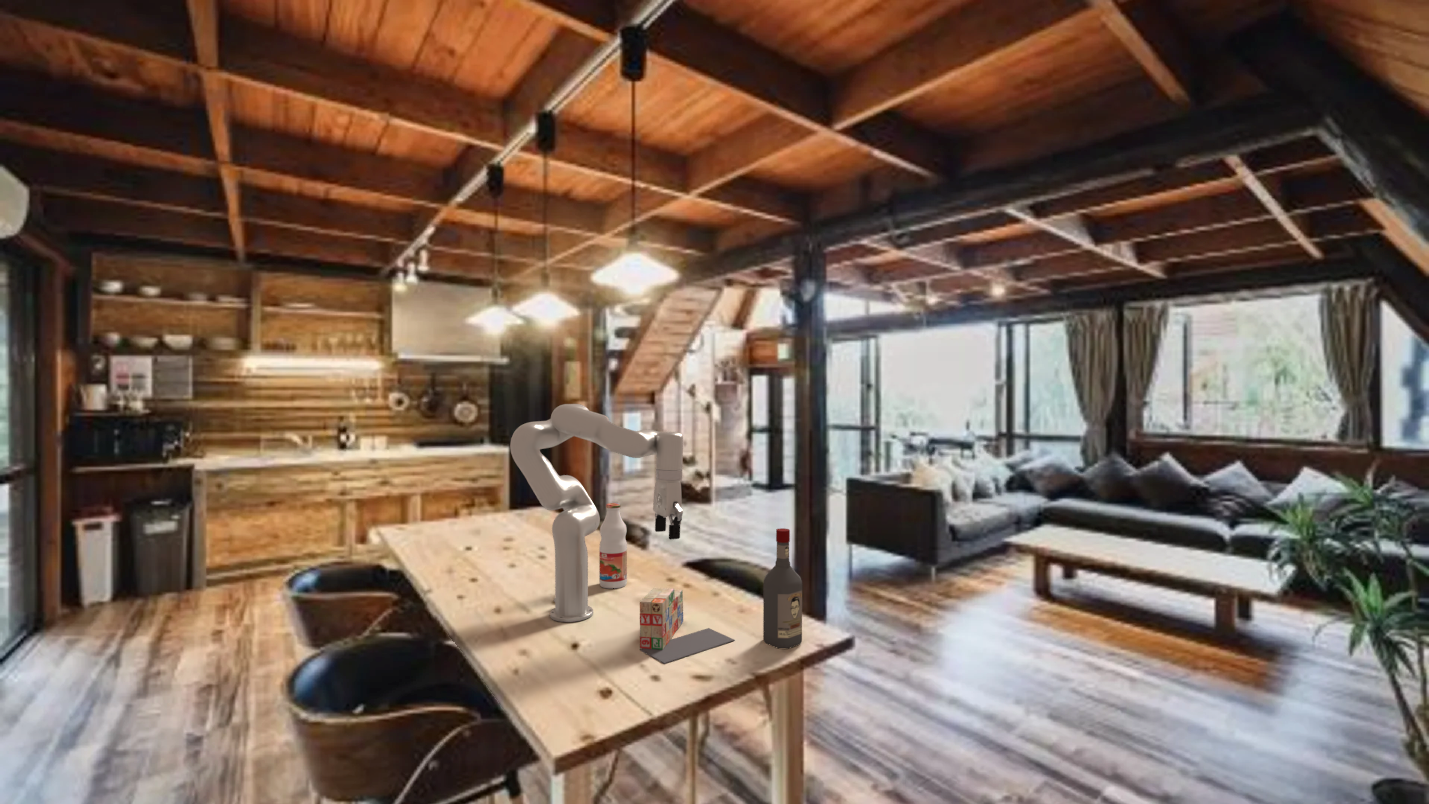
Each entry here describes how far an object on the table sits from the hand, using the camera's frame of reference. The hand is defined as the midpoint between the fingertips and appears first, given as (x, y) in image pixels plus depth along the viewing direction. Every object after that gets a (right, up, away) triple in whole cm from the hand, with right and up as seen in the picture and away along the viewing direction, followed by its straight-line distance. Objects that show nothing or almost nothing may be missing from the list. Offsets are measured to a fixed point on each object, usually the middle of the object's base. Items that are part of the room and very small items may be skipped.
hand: (667, 535), depth 182 cm
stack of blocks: (-1, -26, -7) cm, 27 cm away
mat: (+7, -26, -14) cm, 30 cm away
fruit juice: (-21, -25, +38) cm, 50 cm away
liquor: (+32, -26, -12) cm, 43 cm away
